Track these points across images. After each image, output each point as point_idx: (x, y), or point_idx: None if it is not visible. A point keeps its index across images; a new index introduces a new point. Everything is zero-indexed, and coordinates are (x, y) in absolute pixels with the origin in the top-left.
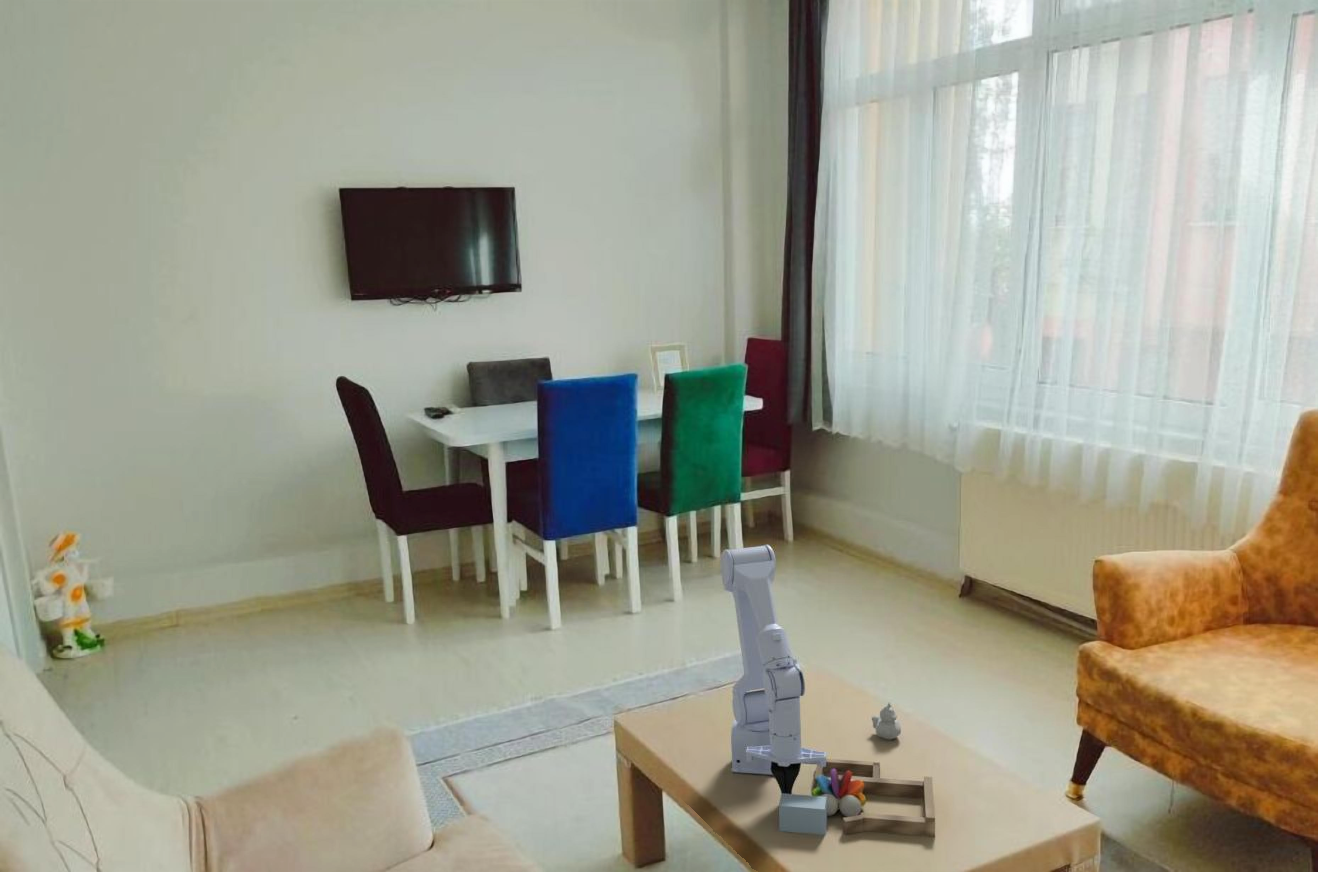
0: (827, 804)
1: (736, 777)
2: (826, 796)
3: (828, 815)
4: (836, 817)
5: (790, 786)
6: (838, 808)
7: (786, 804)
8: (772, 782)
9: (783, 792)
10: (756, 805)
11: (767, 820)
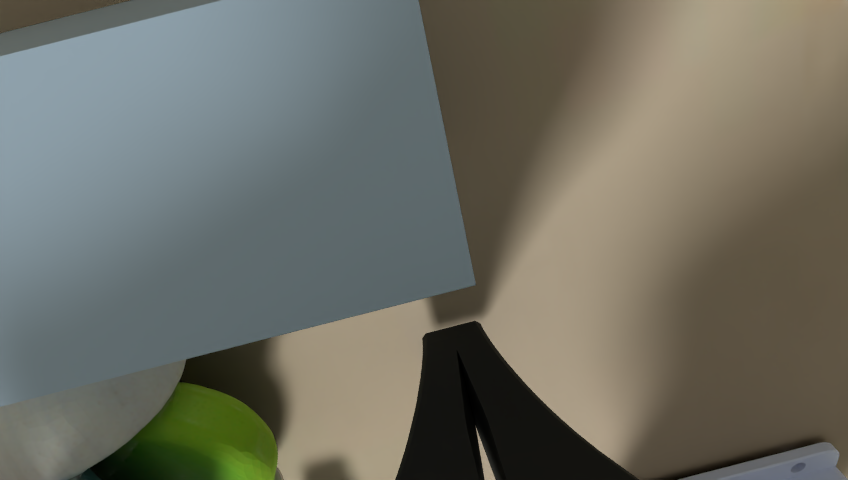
0: None
1: (801, 414)
2: (28, 452)
3: None
4: None
5: (430, 436)
6: None
7: (296, 47)
8: None
9: (487, 367)
10: (657, 224)
11: (536, 67)
